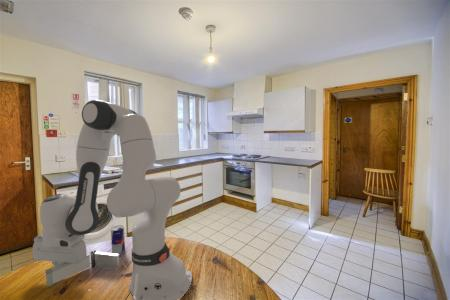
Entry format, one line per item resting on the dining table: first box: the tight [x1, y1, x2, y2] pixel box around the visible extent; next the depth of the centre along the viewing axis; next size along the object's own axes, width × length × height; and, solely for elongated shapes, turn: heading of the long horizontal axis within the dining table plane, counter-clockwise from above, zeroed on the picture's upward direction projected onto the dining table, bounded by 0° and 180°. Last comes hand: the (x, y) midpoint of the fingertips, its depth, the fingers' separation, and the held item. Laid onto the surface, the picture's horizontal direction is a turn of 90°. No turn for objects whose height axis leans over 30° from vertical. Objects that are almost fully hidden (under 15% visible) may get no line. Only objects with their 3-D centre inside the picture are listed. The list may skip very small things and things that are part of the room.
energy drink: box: [110, 224, 126, 256], centre depth 94 cm, size 5×5×12 cm
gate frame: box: [89, 249, 120, 271], centre depth 85 cm, size 29×2×6 cm, turn 81°
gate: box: [45, 252, 91, 287], centre depth 78 cm, size 13×2×5 cm, turn 141°
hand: (60, 270), depth 79 cm, fingers closed
